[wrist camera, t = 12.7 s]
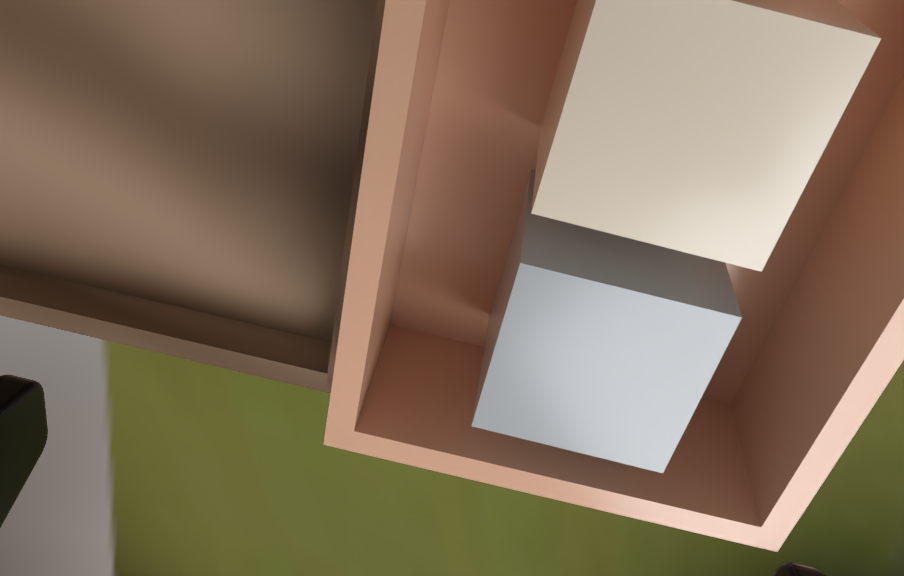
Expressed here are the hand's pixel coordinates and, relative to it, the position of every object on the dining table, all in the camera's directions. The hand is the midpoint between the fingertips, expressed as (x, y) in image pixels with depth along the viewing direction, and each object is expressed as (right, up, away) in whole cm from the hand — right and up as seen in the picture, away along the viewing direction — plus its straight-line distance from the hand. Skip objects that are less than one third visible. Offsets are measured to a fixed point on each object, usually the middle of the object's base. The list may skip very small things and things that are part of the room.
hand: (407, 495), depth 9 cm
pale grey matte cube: (+4, +3, +9) cm, 10 cm away
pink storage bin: (+4, +5, +8) cm, 11 cm away
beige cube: (+5, +7, +6) cm, 10 cm away
